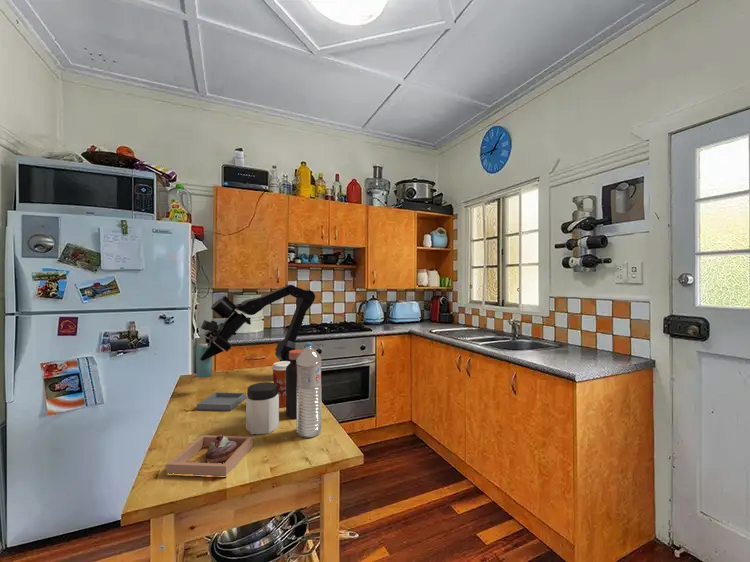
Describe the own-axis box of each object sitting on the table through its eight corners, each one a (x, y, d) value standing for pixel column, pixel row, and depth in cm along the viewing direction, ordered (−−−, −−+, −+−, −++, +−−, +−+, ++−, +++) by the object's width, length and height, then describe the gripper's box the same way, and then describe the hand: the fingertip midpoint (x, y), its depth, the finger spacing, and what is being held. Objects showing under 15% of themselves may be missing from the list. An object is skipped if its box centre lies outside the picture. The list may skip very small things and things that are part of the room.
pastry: (209, 450, 83) (209, 430, 83) (241, 446, 85) (241, 427, 85) (200, 468, 75) (200, 446, 75) (236, 463, 77) (236, 442, 77)
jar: (261, 419, 100) (261, 380, 100) (284, 423, 97) (283, 383, 97) (239, 432, 92) (239, 389, 92) (264, 437, 89) (263, 393, 89)
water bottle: (310, 441, 87) (310, 346, 87) (291, 435, 90) (290, 343, 90) (326, 430, 93) (326, 342, 93) (307, 425, 96) (307, 339, 96)
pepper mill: (214, 374, 125) (214, 342, 125) (206, 378, 120) (206, 345, 120) (201, 373, 125) (201, 342, 125) (193, 377, 120) (193, 344, 120)
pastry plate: (253, 446, 84) (253, 436, 84) (226, 478, 71) (226, 466, 71) (202, 444, 85) (202, 435, 85) (166, 475, 72) (166, 464, 72)
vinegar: (285, 411, 106) (285, 349, 106) (306, 409, 108) (306, 348, 108) (286, 420, 100) (286, 354, 100) (309, 417, 102) (309, 352, 102)
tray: (246, 398, 118) (246, 392, 118) (230, 410, 107) (230, 404, 107) (215, 397, 119) (215, 392, 119) (197, 410, 108) (197, 404, 108)
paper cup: (275, 410, 107) (275, 367, 107) (269, 403, 114) (269, 362, 114) (298, 405, 111) (298, 364, 111) (291, 398, 118) (291, 359, 118)
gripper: (209, 310, 132) (178, 341, 126) (221, 314, 117) (185, 349, 111) (230, 328, 137) (201, 358, 131) (244, 334, 122) (211, 369, 116)
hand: (199, 358), depth 122 cm, fingers closed on pepper mill, 5 cm apart
